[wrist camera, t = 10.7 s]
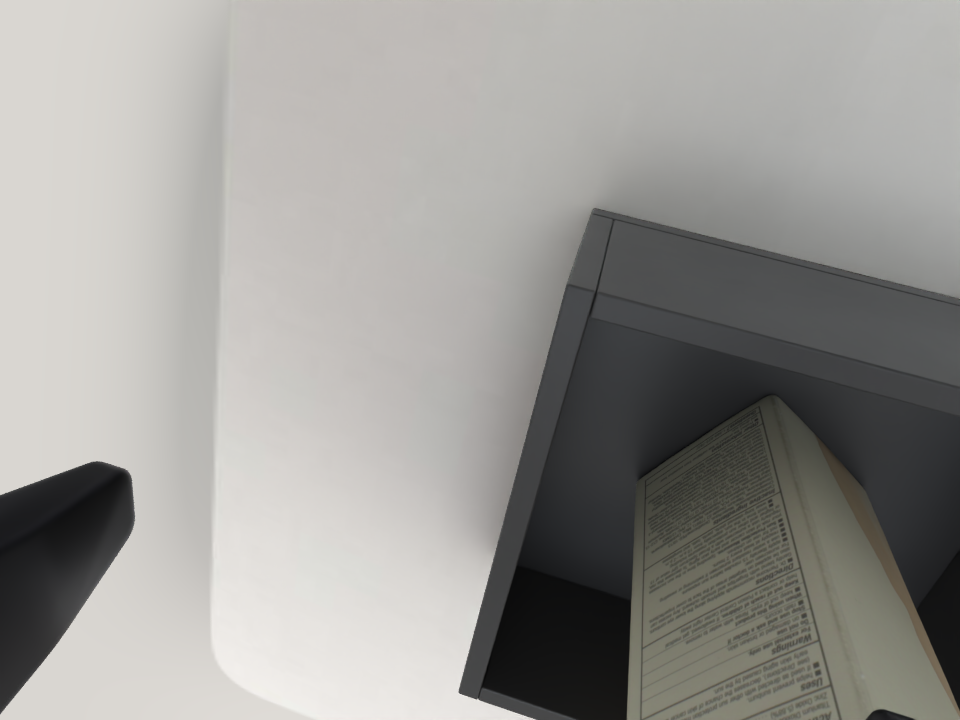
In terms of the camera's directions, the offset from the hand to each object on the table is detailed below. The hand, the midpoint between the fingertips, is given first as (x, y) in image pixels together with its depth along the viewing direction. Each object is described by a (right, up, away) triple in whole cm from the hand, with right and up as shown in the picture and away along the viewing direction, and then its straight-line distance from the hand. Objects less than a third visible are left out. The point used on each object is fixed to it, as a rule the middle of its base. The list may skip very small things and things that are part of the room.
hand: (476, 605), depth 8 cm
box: (+8, -1, +12) cm, 15 cm away
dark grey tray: (+8, 0, +13) cm, 15 cm away
